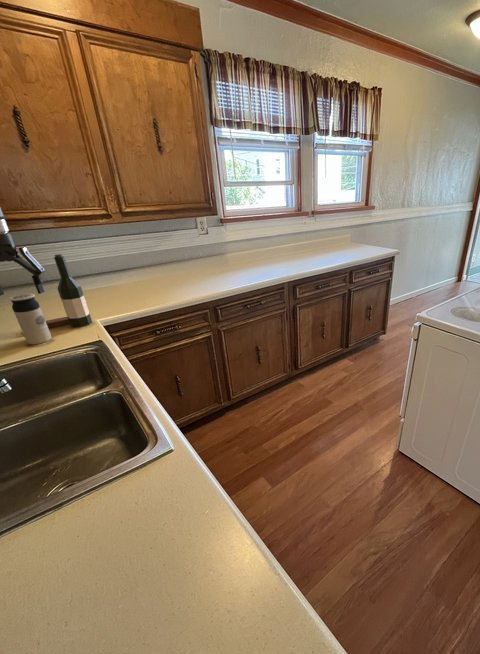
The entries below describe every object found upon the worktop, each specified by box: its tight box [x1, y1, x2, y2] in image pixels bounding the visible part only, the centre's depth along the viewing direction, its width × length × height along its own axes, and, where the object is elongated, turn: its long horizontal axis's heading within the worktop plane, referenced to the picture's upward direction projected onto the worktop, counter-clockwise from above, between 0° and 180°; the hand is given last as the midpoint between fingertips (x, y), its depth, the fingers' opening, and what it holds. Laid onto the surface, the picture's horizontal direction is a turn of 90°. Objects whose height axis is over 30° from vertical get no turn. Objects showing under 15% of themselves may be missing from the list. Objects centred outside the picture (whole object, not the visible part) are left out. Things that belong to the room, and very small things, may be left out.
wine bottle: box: [53, 253, 93, 328], centre depth 137 cm, size 8×8×30 cm
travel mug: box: [9, 293, 52, 345], centre depth 125 cm, size 8×8×18 cm
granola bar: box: [45, 316, 70, 330], centre depth 142 cm, size 12×4×2 cm, turn 130°
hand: (21, 294), depth 120 cm, fingers open, 13 cm apart
